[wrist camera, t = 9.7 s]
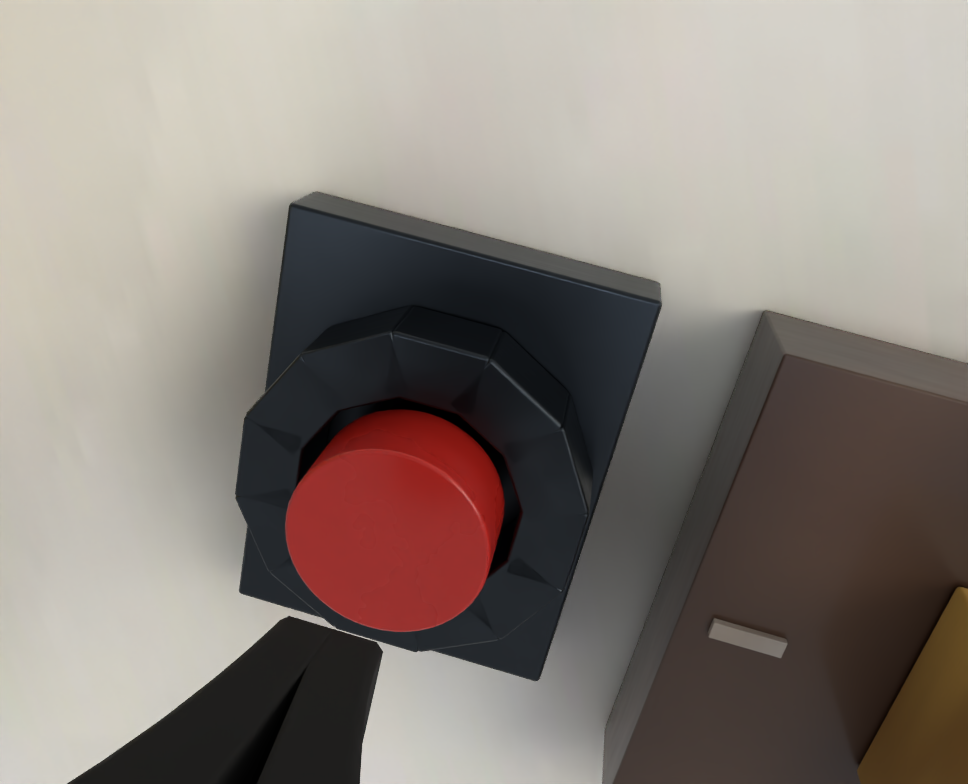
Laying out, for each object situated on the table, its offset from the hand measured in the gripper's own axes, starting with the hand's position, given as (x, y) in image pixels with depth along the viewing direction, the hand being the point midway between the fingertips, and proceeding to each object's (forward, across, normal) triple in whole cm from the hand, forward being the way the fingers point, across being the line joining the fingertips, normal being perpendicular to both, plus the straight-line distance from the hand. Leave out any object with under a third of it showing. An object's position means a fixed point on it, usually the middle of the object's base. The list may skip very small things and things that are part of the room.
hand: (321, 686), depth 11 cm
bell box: (+8, 0, 0) cm, 8 cm away
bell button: (+5, 0, 0) cm, 5 cm away
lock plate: (+8, -10, +1) cm, 13 cm away
